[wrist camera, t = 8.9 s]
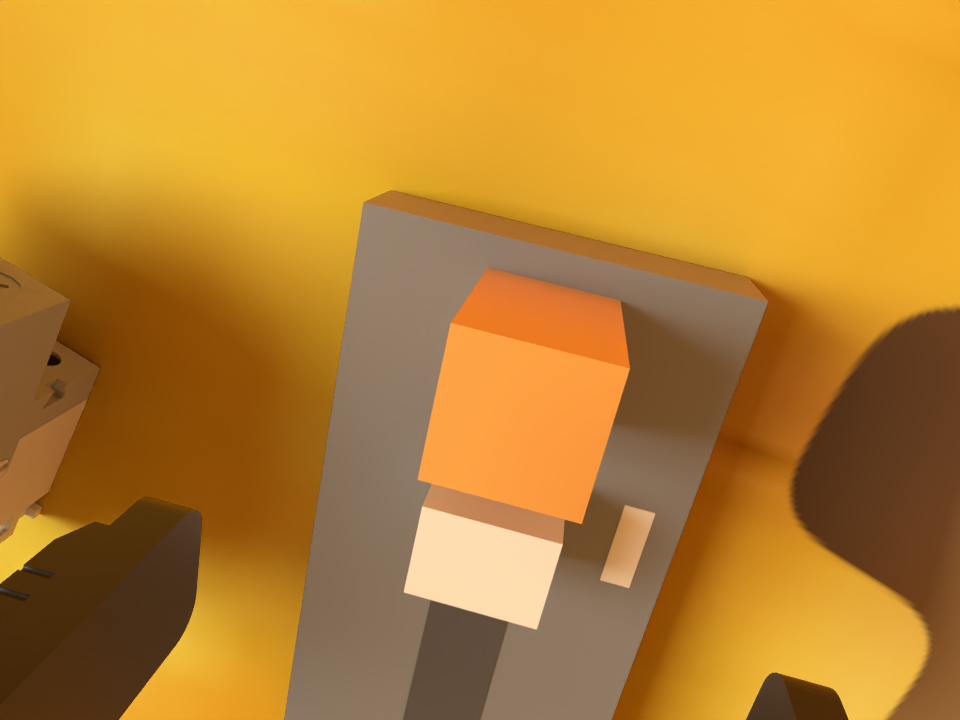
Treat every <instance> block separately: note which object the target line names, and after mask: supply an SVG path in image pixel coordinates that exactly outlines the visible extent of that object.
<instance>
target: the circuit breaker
mask: <svg viewBox="0 0 960 720" xmlns="http://www.w3.org/2000/svg"><path fill="white" fill-rule="evenodd" d="M70 302H71V301H70V300H69V299H68V298H66V297H64V296H63V295H61V294H60V293H58V292H56V291H55V290H53V289H51V288H50V287H48V286H46V285H45V284H43V283H42V282H40V281H38V280H37V279H35V278H33V277H32V276H30V275H29V274H27V273H25V272H24V271H22V270H20V269H19V268H17V267H15V266H14V265H12V264H11V263H9V262H7V261H6V260H4V259H2V258H1V257H0V543H1V542H3V541H4V540H5V539H7V538H8V537H9V536H11V535H12V534H13V532H14V529H15V527H16V524H17V522H18V519H19V518H20V517H22V516H23V515H25V514H26V515H27V516H29V517H31V518H32V519H33V518H35V517H36V516H37V515H39V514H40V512H41V509H42V506H40V505H38V504H37V503H35V501H37V500H38V499H39V498H41V497H42V496H44V495H45V494H46V493H48V492H49V490H50V488H51V485H52V483H53V480H54V478H55V476H56V473H57V471H58V469H59V466H60V464H61V461H62V459H63V457H64V454H65V452H66V449H67V447H68V445H69V442H70V440H71V437H72V435H73V433H74V430H75V428H76V426H77V423H78V421H79V418H80V416H81V414H82V411H83V409H84V406H85V404H86V402H87V399H88V397H89V394H90V392H91V390H92V387H93V385H94V382H95V380H96V378H97V375H98V373H99V370H100V367H98V366H97V365H95V364H93V363H92V362H90V361H88V360H87V359H85V358H84V357H82V356H80V355H79V354H77V353H75V352H74V351H72V350H70V349H69V348H67V347H65V346H64V345H62V344H60V343H59V342H57V341H56V339H57V336H58V334H59V331H60V328H61V326H62V323H63V320H64V318H65V315H66V313H67V310H68V307H69V305H70Z"/></svg>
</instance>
